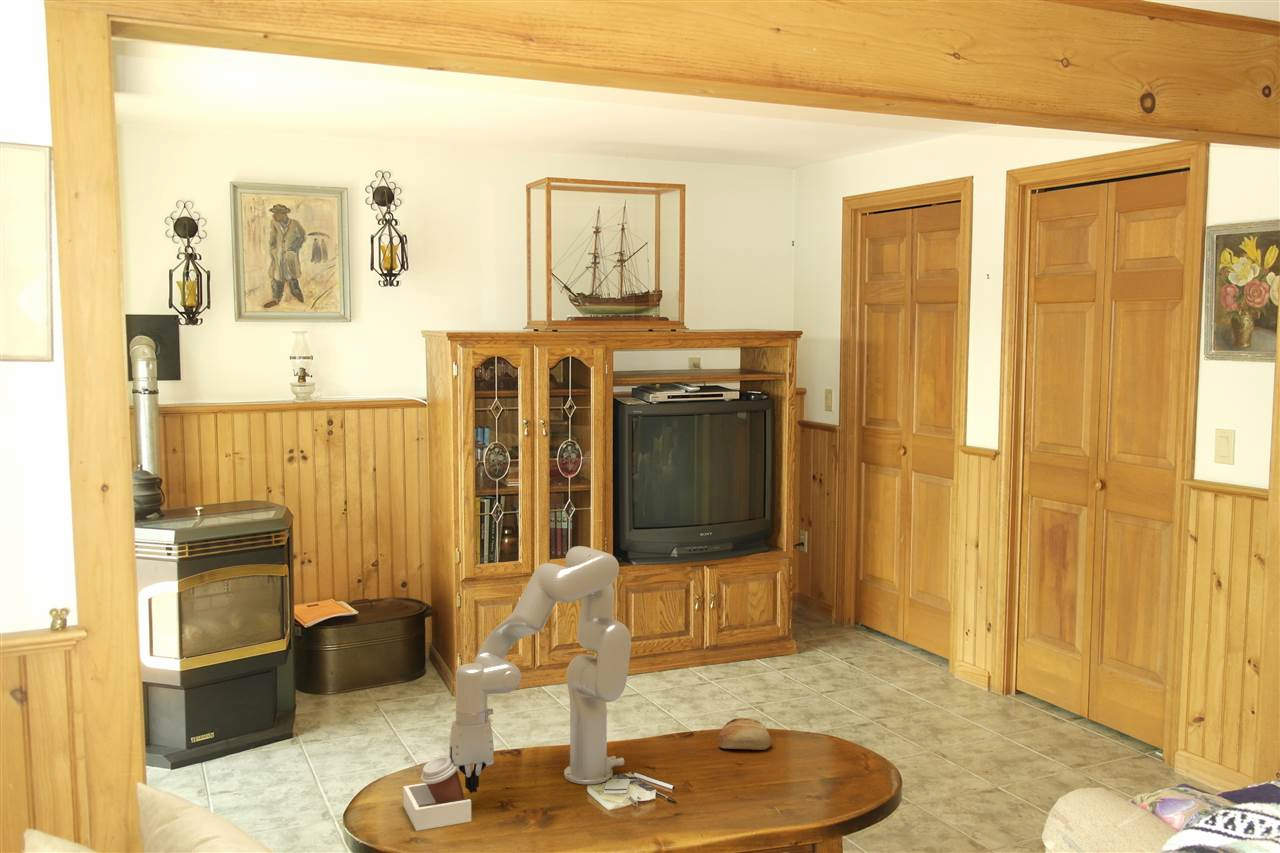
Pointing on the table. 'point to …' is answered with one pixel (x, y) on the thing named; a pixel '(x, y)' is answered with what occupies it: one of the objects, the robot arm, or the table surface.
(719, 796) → the table surface
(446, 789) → the coffee cup
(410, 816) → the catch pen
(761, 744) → the bread roll
